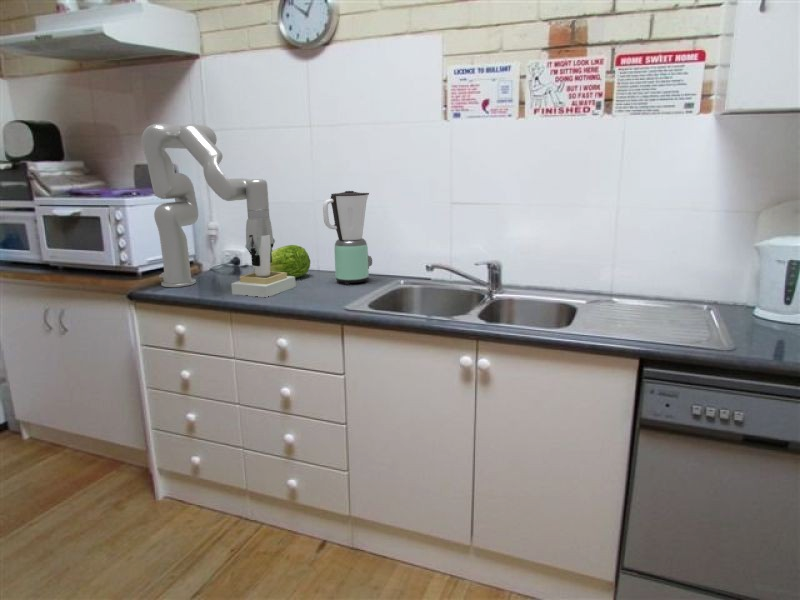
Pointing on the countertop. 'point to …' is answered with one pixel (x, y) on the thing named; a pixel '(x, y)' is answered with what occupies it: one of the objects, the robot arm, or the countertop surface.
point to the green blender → (349, 236)
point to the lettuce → (290, 260)
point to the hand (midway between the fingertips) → (262, 263)
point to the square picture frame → (263, 284)
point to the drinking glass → (264, 257)
